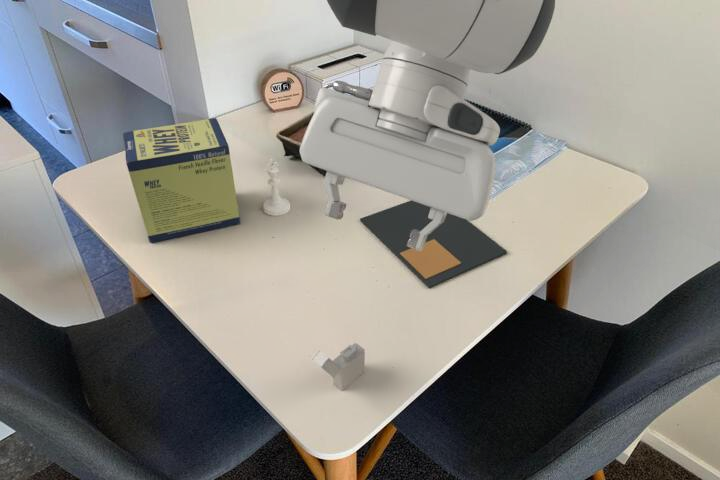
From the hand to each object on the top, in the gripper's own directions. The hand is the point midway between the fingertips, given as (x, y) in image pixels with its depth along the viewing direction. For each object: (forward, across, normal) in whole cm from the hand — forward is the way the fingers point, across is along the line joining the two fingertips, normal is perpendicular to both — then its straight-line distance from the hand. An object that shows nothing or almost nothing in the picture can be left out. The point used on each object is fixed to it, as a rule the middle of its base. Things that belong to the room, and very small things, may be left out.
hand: (372, 232), depth 55 cm
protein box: (+14, -39, +26) cm, 49 cm away
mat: (+4, 0, +36) cm, 36 cm away
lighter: (+21, 0, +7) cm, 22 cm away
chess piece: (+8, -27, +33) cm, 44 cm away
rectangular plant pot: (-2, -29, +50) cm, 58 cm away
